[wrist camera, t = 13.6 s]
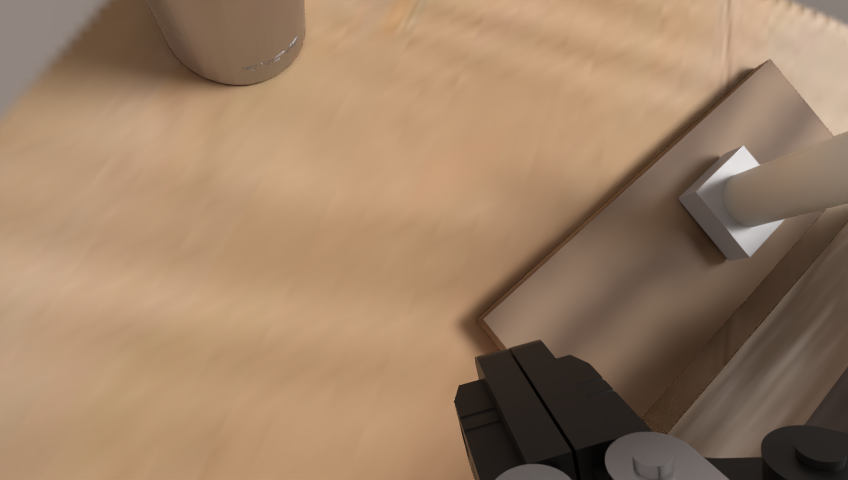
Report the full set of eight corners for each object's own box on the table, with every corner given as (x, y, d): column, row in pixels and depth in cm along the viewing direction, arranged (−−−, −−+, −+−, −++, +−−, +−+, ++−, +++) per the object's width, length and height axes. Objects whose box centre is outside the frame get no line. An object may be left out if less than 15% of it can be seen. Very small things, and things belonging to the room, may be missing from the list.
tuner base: (475, 320, 34) (647, 301, 16) (754, 68, 43) (1048, -111, 26) (635, 516, 33) (980, 709, 16) (879, 219, 43) (1259, 140, 26)
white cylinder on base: (677, 198, 37) (906, 110, 23) (724, 153, 38) (964, 46, 24) (770, 311, 37) (1059, 295, 22) (813, 261, 38) (1106, 217, 24)
